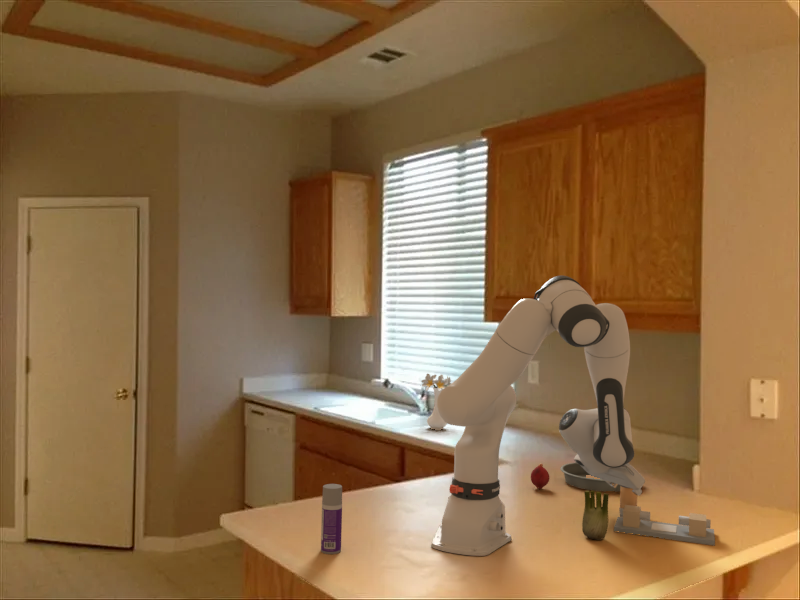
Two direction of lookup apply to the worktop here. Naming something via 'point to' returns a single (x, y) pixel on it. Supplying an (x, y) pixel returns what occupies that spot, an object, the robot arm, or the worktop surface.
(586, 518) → the fennel bulb
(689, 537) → the bench
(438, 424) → the flower vase
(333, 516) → the container
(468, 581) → the worktop surface
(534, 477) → the onion
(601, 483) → the cake pan
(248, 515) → the worktop surface
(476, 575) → the worktop surface
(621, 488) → the sleeve
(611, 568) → the worktop surface
